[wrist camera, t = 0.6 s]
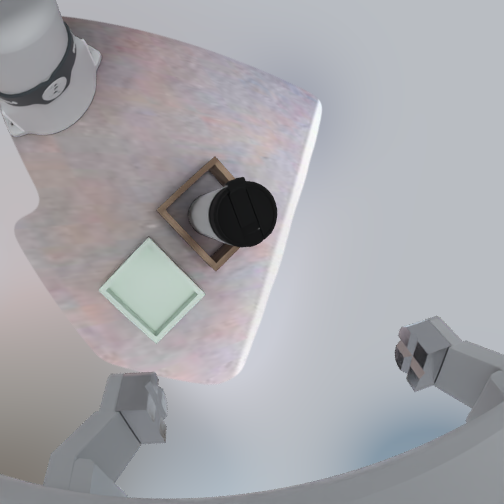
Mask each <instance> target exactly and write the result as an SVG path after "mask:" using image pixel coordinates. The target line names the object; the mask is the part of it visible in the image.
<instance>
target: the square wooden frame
mask: <svg viewBox="0 0 504 504" xmlns="http://www.w3.org/2000/svg"><path fill="white" fill-rule="evenodd" d="M208 170H209V171H210V172H211V173H212V174H213V175H214V176H215V178H216V179H217V180H218V181H219V182H220V183H221V184H222V185H223V186H224V187H225V186H227V185H225V184H226V183H227V182H228V181H230V180H233V179H235V178H234V177H233V176H232V175H231V174H230V172H229V171H228V170H227V169H226V168H225V167H224V166H223V165H222V163H221V162H220V161H219V160H218V159H217V158H216V157H214V158H212V159H211V160H210V161H209V162H208V163H207V164H206V165H205V166H203V167H202V168H201V169H200V170H199V171H198V172H197V173H196V174H194V175H193V176H192V177H191V178H190V179H189V180H188V181H187V182H186V183H185V184H184V185H182V186H181V187H180V188H179V189H178V190H177V191H176V192H175V193H174V194H173V195H172V196H171V197H170V198H169V199H167V200H166V201H165V202H164V203H163V204H162V205H161V206H160V207H159V208H158V209H157V210H156V211H157V212H158V213H159V214H160V215H161V216H162V217H163V218H164V219H165V220H166V221H167V222H168V223H169V224H170V225H171V226H172V228H173V229H174V230H175V231H176V232H177V233H178V234H179V235H180V236H181V237H182V238H183V239H184V240H185V241H186V242H187V243H188V244H189V245H190V246H191V247H192V248H193V249H194V250H195V252H196V253H197V254H198V255H199V256H200V257H201V258H202V259H203V260H204V261H205V262H206V263H207V264H208V265H209V266H210V267H211V268H213V269H214V270H215V271H217V270H218V269H219V268H220V267H221V266H222V265H223V264H224V263H225V262H226V261H227V260H228V259H229V258H230V257H231V256H232V255H233V254H234V253H235V252H236V251H237V250H238V249H239V248H240V247H236V246H232V245H229V244H226V243H225V244H224V245H223V246H222V247H221V248H220V249H219V250H218V251H217V252H216V253H215V254H214V255H213V256H212V257H210V256H209V255H208V254H207V253H206V252H205V251H204V250H203V249H202V248H201V247H200V246H199V245H198V244H197V243H196V242H195V241H194V240H193V239H192V238H191V236H190V235H189V234H188V233H187V232H186V231H185V230H184V229H183V228H182V227H181V226H180V225H179V224H178V223H177V222H176V221H175V220H174V219H173V217H172V216H171V215H170V214H169V213H168V212H167V211H166V209H167V208H168V207H169V206H170V205H171V204H172V203H173V202H174V201H175V200H176V199H177V198H178V197H179V196H180V195H181V194H183V193H184V192H185V191H186V190H187V189H188V188H189V187H190V186H191V185H192V184H193V183H194V182H196V181H197V180H198V179H199V178H200V177H201V176H202V175H203V174H204V173H205V172H207V171H208Z"/></svg>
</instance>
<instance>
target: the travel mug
mask: <svg viewBox="0 0 504 504" xmlns="http://www.w3.org/2000/svg"><path fill="white" fill-rule="evenodd" d="M225 185H227V186H225V187H222V188H220V189H217V190H214V191H212V192H209V193H207V194H204V195H202V196H200V197H198V198H197V199H195V200H194V202H193V203H192V204H191V206H190V209H189V221H190V224H191V226H192V227H193V229H194V230H195V231H196V232H198V233H200V234H202V235H204V236H207V237H210V238H212V239H215V240H218V241H220V242H223V243H226V244H229V245H232V246H236V247H252V246H255V245H257V244H259V243H261V242H262V241H263V240H264V239H265V238H267V237H268V236H269V235H270V234H271V233H272V231H273V229H274V227H275V224H276V220H277V207H276V203H275V200H274V198H273V196H272V195H271V193H270V192H269V191H268V190H267V189H266V188H265V187H263V186H262V185H260V184H258V183H255V182H250V181H245V178H244V177H241V178H236V179H233V180H230V181H228V182H227V183H226V184H225Z"/></svg>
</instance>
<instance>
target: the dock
mask: <svg viewBox="0 0 504 504" xmlns="http://www.w3.org/2000/svg"><path fill="white" fill-rule="evenodd" d="M99 291H100V292H101V293H102V294H103V295H104V296H105V297H106V298H107V299H108V300H109V301H110V302H111V303H112V304H113V305H114V306H115V307H116V308H117V309H118V310H119V311H120V312H121V313H123V314H124V315H125V316H126V317H127V318H128V319H129V320H130V321H131V322H132V323H133V324H134V325H136V326H137V327H138V328H139V329H140V330H141V331H142V332H143V333H145V334H146V335H147V336H148V337H149V338H150V339H151V340H153V341H154V342H155V343H156V344H157V343H158V342H159V341H160V340H161V339H162V338H163V337H164V336H165V335H166V334H167V333H168V332H169V331H170V330H171V329H172V328H173V327H174V326H175V325H176V324H177V323H178V322H179V321H180V320H181V319H182V318H183V317H184V316H185V315H186V314H187V313H188V312H189V311H190V310H191V309H192V308H193V307H194V306H195V305H196V304H197V303H198V302H199V301H200V300H201V299H202V298H203V297H204V296H205V295H206V294H205V293H204V292H203V290H202V289H201V288H200V287H199V286H198V285H197V284H196V283H195V282H194V281H192V280H191V279H190V278H189V277H188V276H187V275H186V274H185V273H184V272H183V271H182V270H181V269H180V268H179V267H178V266H177V265H176V264H175V263H174V262H173V260H172V259H171V258H170V257H169V256H168V255H167V254H166V253H165V252H164V251H163V250H162V249H161V248H160V247H159V246H158V245H157V244H156V243H155V242H154V241H153V240H152V239H151V238H150V237H148V238H147V239H146V240H145V241H144V242H143V243H142V244H141V245H140V246H139V247H138V248H137V249H136V250H135V251H134V252H133V253H132V254H131V255H130V256H129V257H128V258H127V260H126V261H125V262H124V263H123V264H122V265H121V266H120V267H119V268H118V269H117V270H116V271H115V272H114V273H113V274H112V275H111V276H110V278H109V279H108V280H107V281H106V282H105V283H104V284H103V285H102V286H101V288H100V289H99Z"/></svg>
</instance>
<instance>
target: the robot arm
mask: <svg viewBox="0 0 504 504" xmlns="http://www.w3.org/2000/svg"><path fill="white" fill-rule="evenodd" d="M101 58H102V56H101V54H100V52H99V51H98V50H96V49H94V48H93V47H91V46H90V45H88V44H86V42H85V40H84V39H79V38H78V37H76V36H74V35H73V33H72V31H71V30H70V28H69V27H68V25H67V24H66V23H65V22H64V21H63V19H62V17H61V14H60V11H59V9H58V6H57V3H56V0H0V110H1V113H2V116H3V118H4V121H5V123H6V126H7V128H8V131H9V133H10V134H11V135H12V136H13V137H19V136H22V135H25V134H29V133H31V134H38V135H49V134H54V133H57V132H60V131H62V130H64V129H66V128H68V127H69V126H71V125H72V124H74V123H75V122H76V121H77V120H78V119H79V118H80V117H81V116H82V115H83V114H84V113H85V111H86V110H87V108H88V107H89V105H90V103H91V101H92V99H93V97H94V94H95V89H96V71H97V69H98V66H99V64H100V62H101ZM12 123H13V124H14V125H12ZM399 338H400V339H401V341H399V343H398V344H397V345H396V349H395V360H396V362H397V365H398V367H399V369H400V370H401V371H403V372H405V373H407V378H406V379H407V381H408V382H409V384H410V385H411V387H412V388H413V390H414V391H415V392H416V391H419V390H421V389H424V388H427V387H429V386H432V385H434V386H435V387H437V388H439V389H440V390H442V391H443V392H445V393H447V394H449V395H450V396H452V397H454V398H455V399H457V400H459V401H460V402H462V403H464V404H465V405H467V406H469V407H471V408H472V410H471V412H470V413H469V415H468V416H467V419H466V422H467V423H466V424H464V425H462V426H460V427H458V428H456V429H455V430H453V431H450V432H449V433H447V434H444V435H443V436H440V437H438V438H436V439H434V440H432V441H430V442H428V443H425V444H423V445H421V446H419V447H416V448H414V449H411V450H409V451H407V452H404V453H402V454H399V455H397V456H394V457H391V458H389V459H386V460H384V461H380V462H378V463H375V464H372V465H369V466H366V467H363V468H360V469H357V470H353V471H350V472H347V473H343V474H340V475H336V476H333V477H329V478H325V479H321V480H317V481H313V482H309V483H305V484H300V485H295V486H290V487H285V488H280V489H274V490H268V491H262V492H255V493H247V494H240V495H231V496H220V497H206V498H184V499H150V498H128V497H127V494H126V493H125V492H124V491H123V490H122V489H121V488H120V487H119V486H117V485H116V484H115V482H116V480H117V479H118V477H119V476H120V474H121V473H122V472H123V470H124V469H125V468H126V466H127V465H128V463H129V462H130V461H131V459H132V458H133V456H134V455H135V453H136V452H137V451H138V449H139V448H140V446H141V444H151V443H166V424H165V423H164V421H163V420H164V419H165V417H166V416H167V400H166V396H165V393H164V391H163V389H162V388H161V387H159V386H158V381H159V379H158V377H157V375H156V373H155V372H142V373H125V374H111V375H110V376H109V377H108V380H107V384H106V387H105V391H104V394H103V398H102V403H101V406H100V410H99V412H94V413H93V414H92V415H91V416H90V417H89V418H88V419H87V420H86V421H85V422H84V423H83V424H82V425H81V426H80V427H79V428H78V429H77V430H76V431H75V432H73V433H72V434H71V435H70V436H69V437H68V438H67V439H66V440H65V441H64V442H63V443H62V444H61V445H60V446H59V447H58V448H57V449H56V450H55V451H53V452H52V453H51V457H50V460H49V464H48V468H47V472H46V476H45V480H44V484H43V485H39V484H35V483H31V482H27V481H23V480H20V479H16V478H12V477H9V476H6V475H2V474H0V504H504V355H502V354H500V353H497V352H495V351H492V350H490V349H487V348H484V347H482V346H479V345H476V344H474V343H471V342H468V341H462V340H461V339H460V338H459V337H458V336H457V335H456V334H455V333H454V332H453V330H452V329H451V328H450V327H449V326H448V325H447V324H446V323H445V322H444V321H443V320H442V319H441V318H440V317H438V316H435V317H432V318H428V319H426V320H423V321H419V322H416V323H413V324H409V325H406V326H403V327H402V328H401V329H400V331H399Z"/></svg>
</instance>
